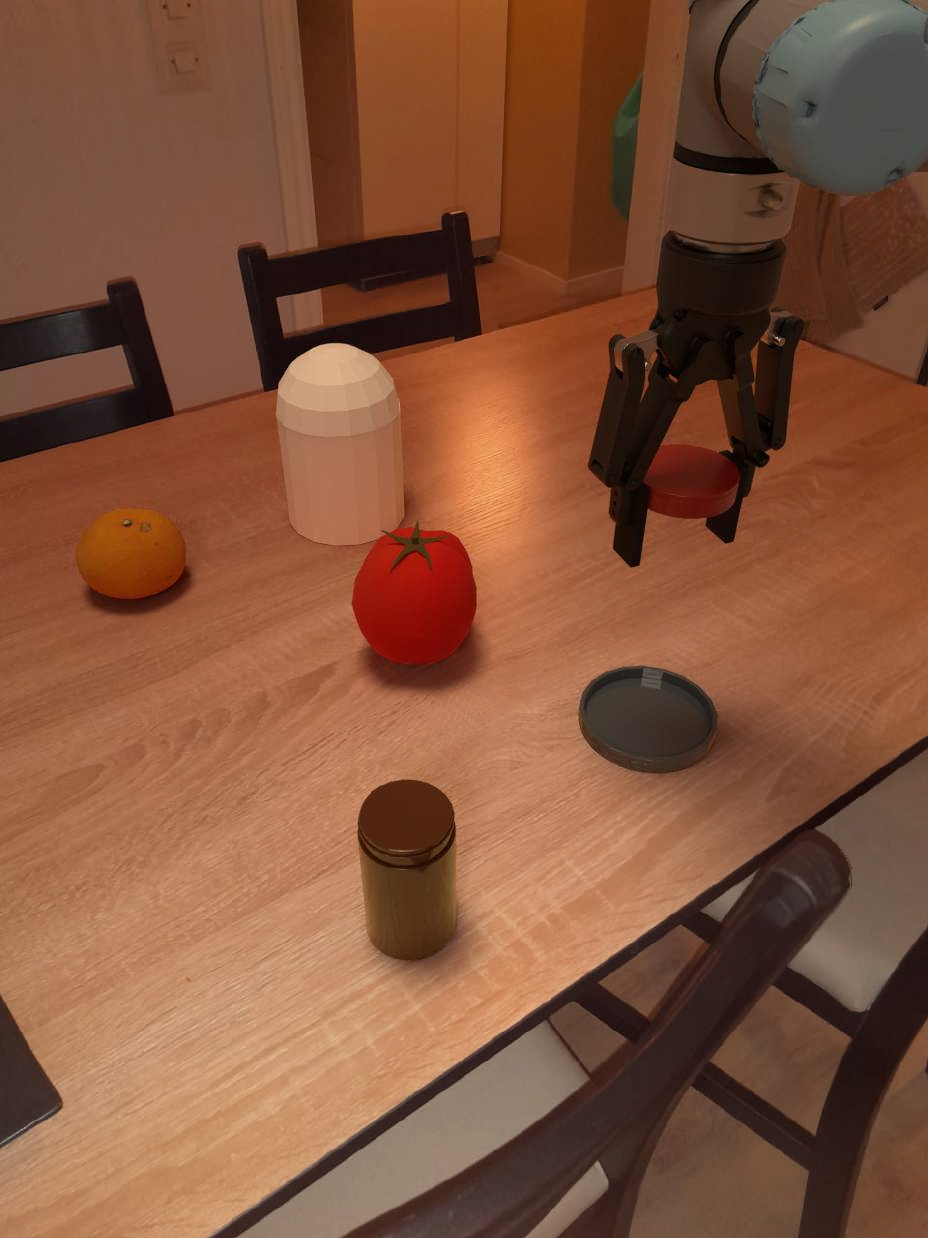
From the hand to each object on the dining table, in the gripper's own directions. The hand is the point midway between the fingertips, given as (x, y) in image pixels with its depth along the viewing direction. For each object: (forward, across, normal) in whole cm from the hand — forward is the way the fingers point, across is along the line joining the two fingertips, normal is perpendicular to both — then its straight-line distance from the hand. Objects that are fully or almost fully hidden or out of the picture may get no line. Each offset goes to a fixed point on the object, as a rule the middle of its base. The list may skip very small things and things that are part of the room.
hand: (673, 544), depth 73 cm
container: (+19, -14, +43) cm, 49 cm away
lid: (-6, 0, 0) cm, 6 cm away
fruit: (+19, -38, +38) cm, 57 cm away
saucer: (+19, 0, 0) cm, 19 cm away
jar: (+19, -26, -11) cm, 34 cm away
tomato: (+19, -15, +17) cm, 29 cm away
